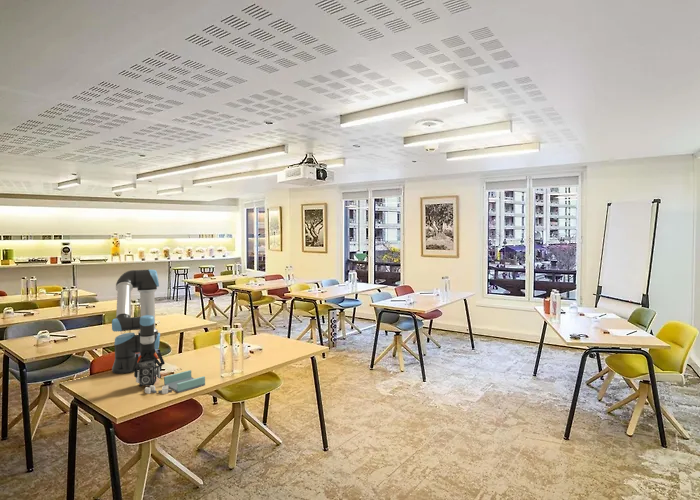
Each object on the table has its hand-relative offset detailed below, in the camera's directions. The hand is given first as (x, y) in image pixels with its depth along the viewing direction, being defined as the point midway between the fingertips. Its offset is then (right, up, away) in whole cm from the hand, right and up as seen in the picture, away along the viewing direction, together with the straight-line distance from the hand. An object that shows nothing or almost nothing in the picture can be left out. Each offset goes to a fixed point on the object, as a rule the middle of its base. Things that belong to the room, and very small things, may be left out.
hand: (148, 379), depth 245 cm
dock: (+21, -4, +1) cm, 21 cm away
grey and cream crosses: (+10, -4, -8) cm, 13 cm away
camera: (0, -3, 0) cm, 3 cm away
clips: (+11, -4, -10) cm, 15 cm away
